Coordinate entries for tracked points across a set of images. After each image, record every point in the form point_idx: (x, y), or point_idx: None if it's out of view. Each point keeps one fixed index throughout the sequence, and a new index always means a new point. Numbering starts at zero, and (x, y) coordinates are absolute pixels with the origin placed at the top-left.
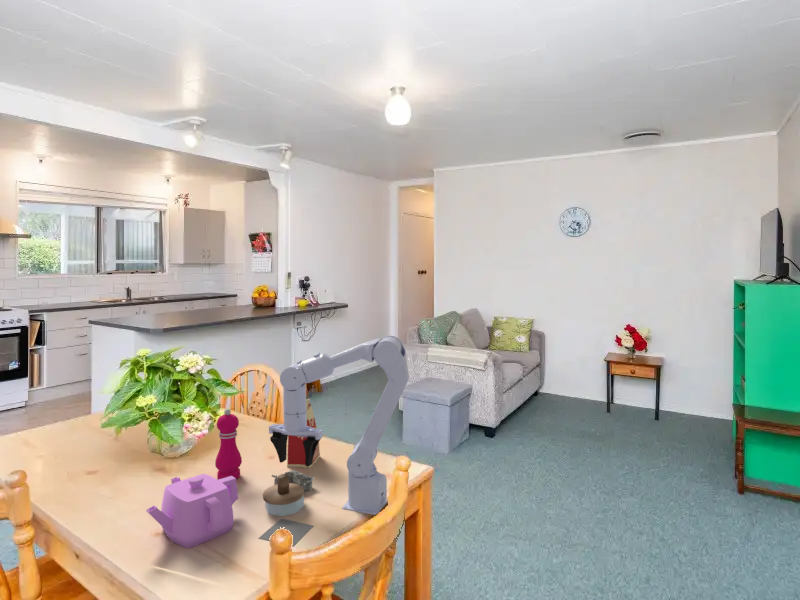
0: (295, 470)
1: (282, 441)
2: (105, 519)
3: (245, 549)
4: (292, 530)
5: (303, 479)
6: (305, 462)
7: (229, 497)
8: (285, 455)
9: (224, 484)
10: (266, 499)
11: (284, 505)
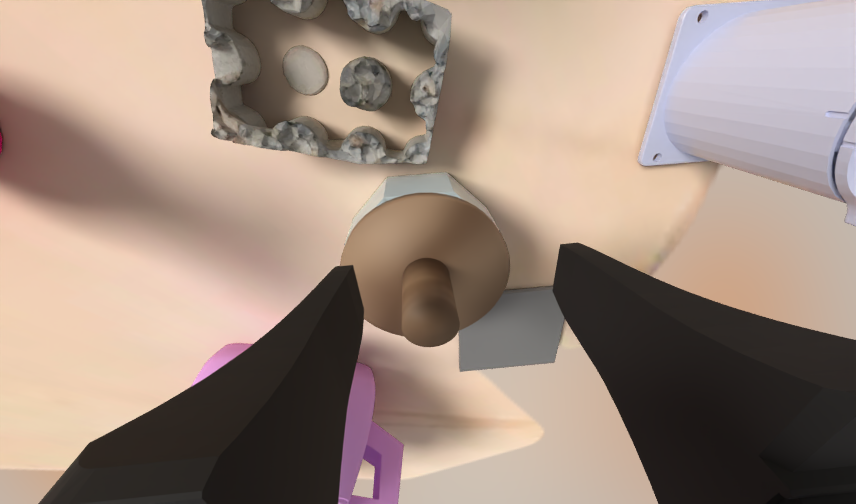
0: None
1: (316, 456)
2: (69, 438)
3: (455, 393)
4: (523, 325)
5: (372, 30)
6: (565, 317)
7: (358, 464)
8: (347, 293)
9: None
10: (403, 335)
11: None
